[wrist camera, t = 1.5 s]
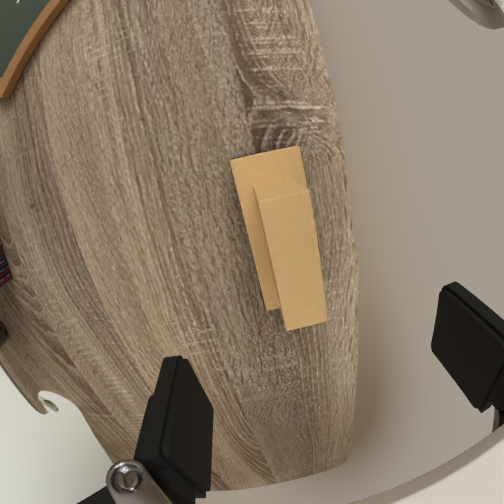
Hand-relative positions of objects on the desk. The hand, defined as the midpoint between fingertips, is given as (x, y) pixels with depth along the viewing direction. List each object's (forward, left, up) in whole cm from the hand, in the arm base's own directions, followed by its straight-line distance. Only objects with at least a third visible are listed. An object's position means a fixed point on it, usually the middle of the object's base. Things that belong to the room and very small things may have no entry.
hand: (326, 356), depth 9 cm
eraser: (0, 0, -14) cm, 14 cm away
